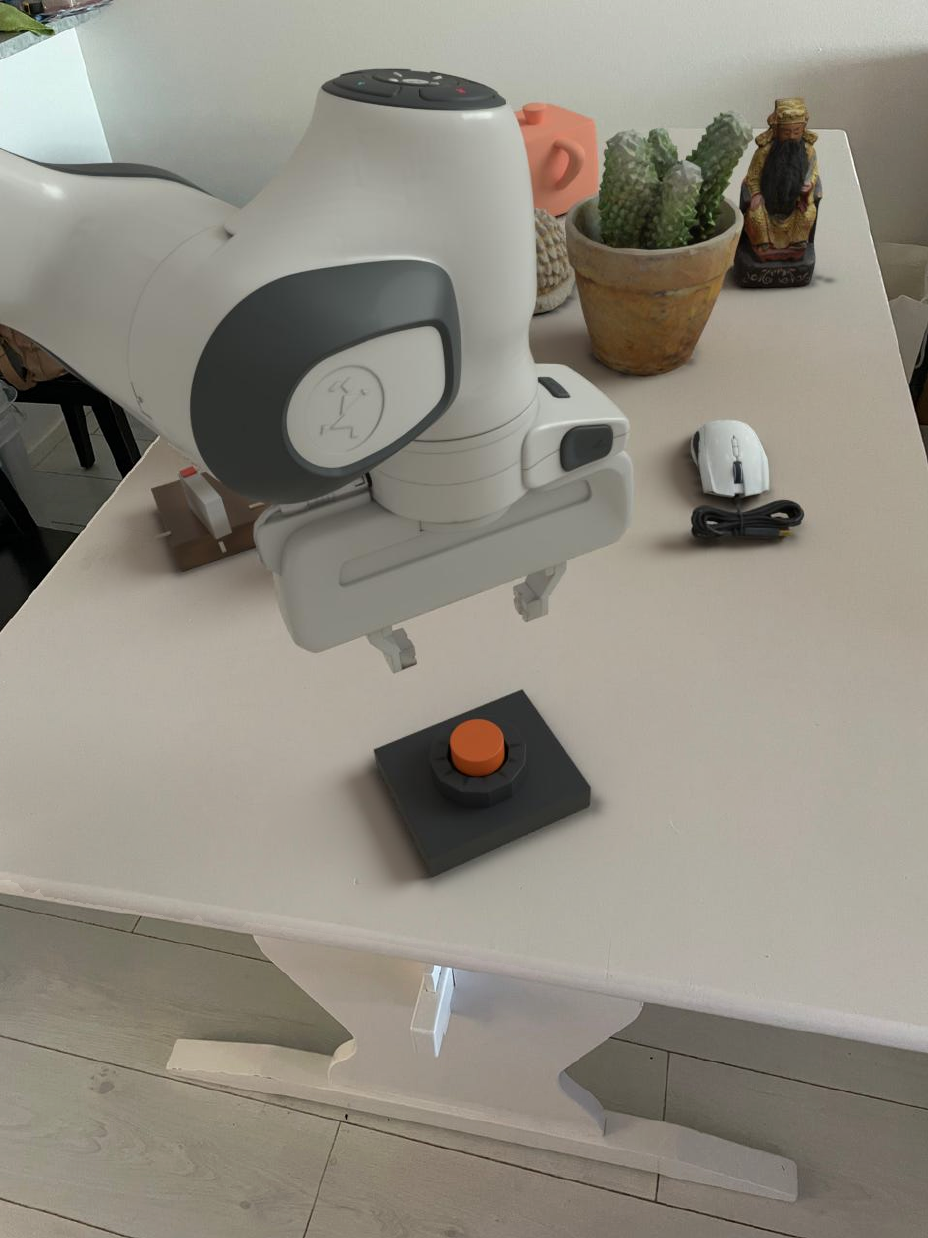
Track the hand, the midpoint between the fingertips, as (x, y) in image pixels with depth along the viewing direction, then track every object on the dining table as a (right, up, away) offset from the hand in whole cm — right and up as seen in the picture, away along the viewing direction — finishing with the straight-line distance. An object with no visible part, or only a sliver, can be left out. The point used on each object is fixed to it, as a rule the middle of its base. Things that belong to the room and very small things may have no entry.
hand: (467, 637), depth 55 cm
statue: (+40, +45, +64) cm, 88 cm away
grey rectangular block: (-23, +10, +30) cm, 39 cm away
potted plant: (+20, +32, +52) cm, 65 cm away
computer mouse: (+25, +14, +33) cm, 44 cm away
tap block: (-23, +9, +33) cm, 41 cm away
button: (+1, -8, +8) cm, 12 cm away
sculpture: (+8, +45, +66) cm, 80 cm away
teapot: (+9, +63, +84) cm, 105 cm away
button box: (+1, -11, +11) cm, 15 cm away
